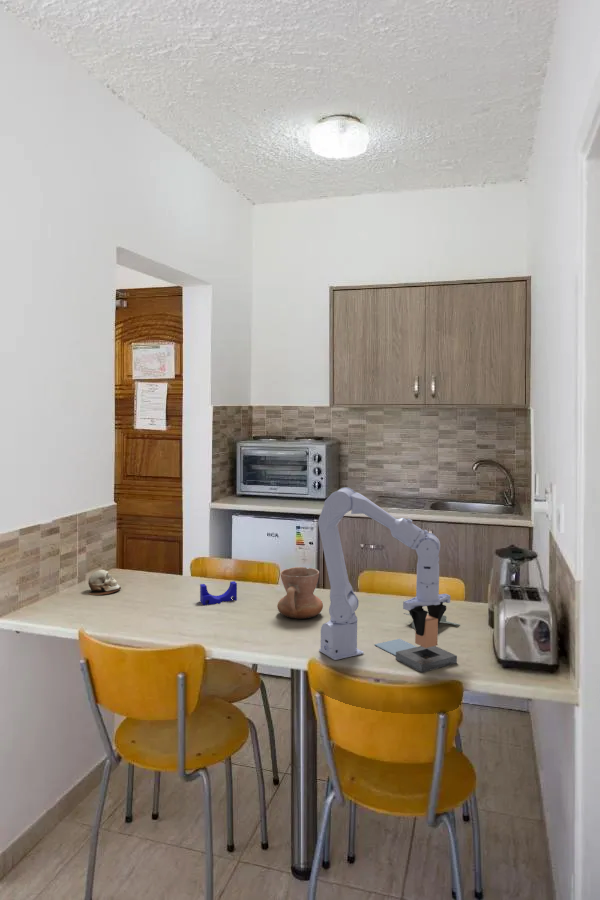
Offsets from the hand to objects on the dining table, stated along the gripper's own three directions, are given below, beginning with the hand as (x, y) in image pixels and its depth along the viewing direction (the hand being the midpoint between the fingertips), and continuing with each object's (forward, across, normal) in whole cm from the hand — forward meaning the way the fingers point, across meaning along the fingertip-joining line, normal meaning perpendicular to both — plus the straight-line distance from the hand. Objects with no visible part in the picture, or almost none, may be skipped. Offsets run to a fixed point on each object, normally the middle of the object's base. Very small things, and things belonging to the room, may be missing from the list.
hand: (426, 633), depth 170 cm
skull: (+8, -55, +108) cm, 121 cm away
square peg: (+3, 0, 0) cm, 3 cm away
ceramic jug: (+8, -9, +49) cm, 50 cm away
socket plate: (+8, 0, 0) cm, 8 cm away
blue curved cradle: (+8, -25, +76) cm, 80 cm away
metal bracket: (+8, +21, +22) cm, 32 cm away
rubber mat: (+8, 0, +12) cm, 14 cm away
